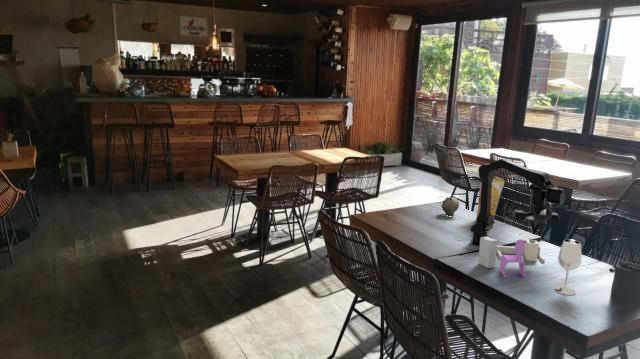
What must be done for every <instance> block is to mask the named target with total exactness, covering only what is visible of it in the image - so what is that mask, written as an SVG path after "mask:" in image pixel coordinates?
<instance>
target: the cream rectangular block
mask: <svg viewBox="0 0 640 359" xmlns="http://www.w3.org/2000/svg"><path fill="white" fill-rule="evenodd" d="M538 247H540V243H539V242H538V241H537V240H534V239H525V251H524V255H523V258H524V259H525V260H526V261H537V260H538V257H537V254H538Z"/></svg>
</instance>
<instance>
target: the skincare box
mask: <svg viewBox="0 0 640 359" xmlns="http://www.w3.org/2000/svg"><path fill="white" fill-rule="evenodd" d="M497 245H498V240H497V239H494V238H491V237H489V236H488V237H481V238H480V245H479V251H478V265H481V266H483V267H485V268H487V269H493V268H496V259H497V253H496V249H497Z"/></svg>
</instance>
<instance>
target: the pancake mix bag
mask: <svg viewBox="0 0 640 359" xmlns="http://www.w3.org/2000/svg"><path fill="white" fill-rule="evenodd" d="M505 182H506V180H505V179H504V178H503V177H501V176H500V177H499V176H496V175H495V177H494V179H493V181H492V190H491V208H490V212H491V214H492V215H494V216H495V215H496V211H497V207H498V204H499V201H500V199H501V196H502V195H501V194H502V191H503V189H504V186H505ZM480 201H481V184H480V186H479V193H478V204H477V212H476V217H475V218H476V219H475V221H476V220H477V216H478V214H479V212H480ZM491 228H492V229H493V228H494V225H493V226H492V227H491ZM491 228H490V229H491Z"/></svg>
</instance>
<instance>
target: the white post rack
mask: <svg viewBox="0 0 640 359" xmlns="http://www.w3.org/2000/svg"><path fill="white" fill-rule="evenodd" d="M524 251H525V249H524ZM503 254H506V255H517V252H516V251H515V246H509V245H507V246H506V245H498V244H497V249H496V255H497V256H498V258H499V259H500V260H501V257H502V255H503ZM521 259H522V260H523V261H524V252H523V254H522V258H521ZM537 259H539V261H540V262H541V263H544V264H545V260H546V259H545V258H544V257H543V256H542V254H541V246H539V247H538V254H537Z"/></svg>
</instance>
